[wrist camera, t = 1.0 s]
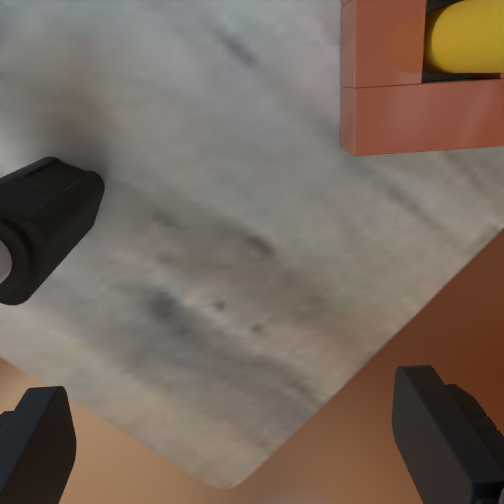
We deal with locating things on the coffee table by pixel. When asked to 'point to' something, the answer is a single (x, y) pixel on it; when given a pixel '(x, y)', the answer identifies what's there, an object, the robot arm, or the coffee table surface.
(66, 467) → the robot arm
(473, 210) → the coffee table surface
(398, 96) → the peg stand
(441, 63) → the yellow peg
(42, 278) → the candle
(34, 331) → the coffee table surface
